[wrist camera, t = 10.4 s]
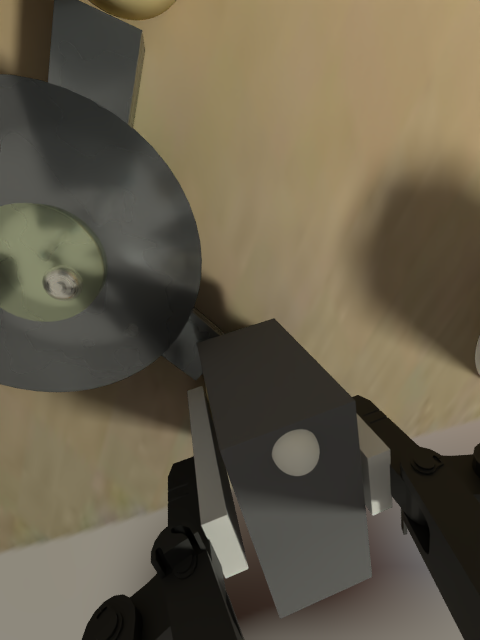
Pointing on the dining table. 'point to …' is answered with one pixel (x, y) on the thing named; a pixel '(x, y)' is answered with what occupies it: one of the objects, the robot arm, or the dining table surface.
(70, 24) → the level base
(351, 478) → the knob
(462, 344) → the dining table surface
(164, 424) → the dining table surface
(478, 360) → the mug
